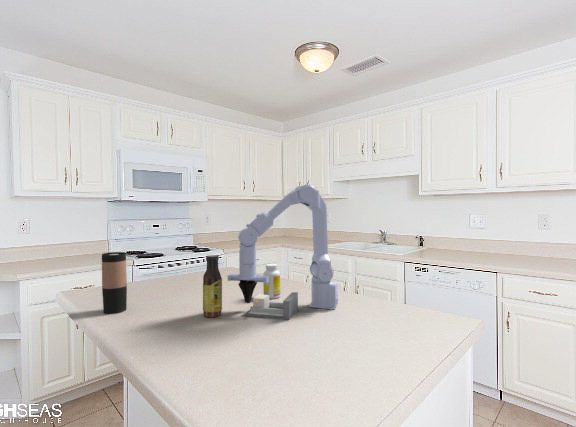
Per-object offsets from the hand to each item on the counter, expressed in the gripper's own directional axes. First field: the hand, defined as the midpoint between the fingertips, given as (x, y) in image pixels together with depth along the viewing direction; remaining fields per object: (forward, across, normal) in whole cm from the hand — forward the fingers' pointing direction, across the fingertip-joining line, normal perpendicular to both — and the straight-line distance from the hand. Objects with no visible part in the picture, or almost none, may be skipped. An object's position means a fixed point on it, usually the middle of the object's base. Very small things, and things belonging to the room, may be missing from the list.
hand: (248, 302), depth 118 cm
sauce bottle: (+3, +10, +8) cm, 13 cm away
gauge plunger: (+2, -5, +1) cm, 5 cm away
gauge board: (+3, -9, 0) cm, 9 cm away
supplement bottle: (+3, -2, -18) cm, 19 cm away
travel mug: (+3, +45, +13) cm, 46 cm away
